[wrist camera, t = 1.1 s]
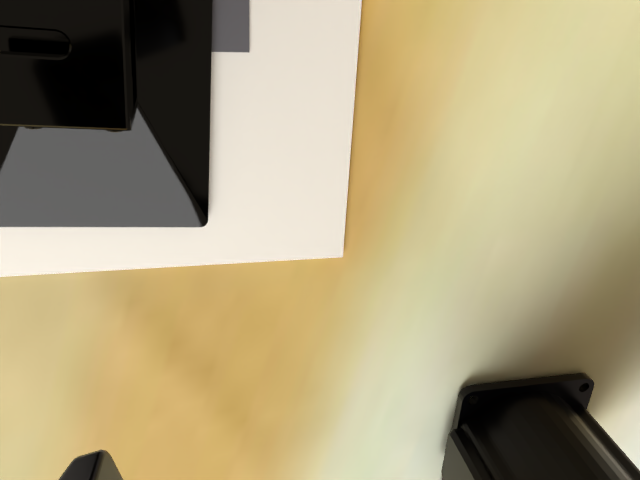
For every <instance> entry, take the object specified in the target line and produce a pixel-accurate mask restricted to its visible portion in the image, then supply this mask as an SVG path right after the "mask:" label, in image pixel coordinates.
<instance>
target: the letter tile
mask: <svg viewBox="0 0 640 480" xmlns="http://www.w3.org/2000/svg"><path fill="white" fill-rule="evenodd" d="M361 5H362V0H213V3H212V53H211V103H210V153H209V203H208V223H207V224H206V225H205V226H204V227H0V277H4V276H22V275H39V274H57V273H74V272H92V271H109V270H126V269H144V268H161V267H179V266H196V265H214V264H231V263H249V262H266V261H283V260H301V259H318V258H336V257H343V247H344V234H345V220H346V207H347V193H348V180H349V166H350V153H351V140H352V126H353V113H354V99H355V86H356V72H357V59H358V45H359V32H360V18H361Z"/></svg>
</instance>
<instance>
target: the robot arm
mask: <svg viewBox="0 0 640 480" xmlns="http://www.w3.org/2000/svg"><path fill="white" fill-rule="evenodd" d="M593 387H594V382H593V380H592V379H591V378H590V377H589V376H588V375H587V374H585V373H579V374H570V375H561V376H551V377H542V378H533V379H524V380H515V381H506V382H496V383H487V384H478V385H470V386H466V387H465V388H463V389H462V390H461V391H460V393H459V395H458V400H457V405H456V410H455V416H454V421H453V426H452V429H451V431H450V433H449V435H448V440H447V445H446V450H445V456H444V461H443V466H442V475H443V478H442V480H640V470H639V469H638V468H637V467H636V466H635V465H634V464H633V462H632V461H631V460H630V459H629V458H628V457H627V456H626V454H625V453H624V452H623V451H622V450H621V449H620V448H619V446H618V445H617V444H616V443H615V442H614V441H613V440H612V438H611V437H610V436H609V435H608V434H607V433H606V432H605V430H604V429H603V428H602V427H601V426H600V425H599V424H598V422H597V421H596V420H595V419H594V418H593V417H592V416H591V414H590V413H589V412H588V411H587V410H586V409H587V406H588V403H589V400H590V397H591V394H592V391H593ZM471 396H473V397H471ZM470 397H471V398H470ZM59 480H123V478H122V476H121V475H120V473H119V471H118V469H117V467H116V465H115V463H114V461H113V459H112V457H111V455H110V454H109V453H108V452H107V451H105V450H98V451H95V452H92V453H88V454H85V455H82V456H79V457H77V458H75V459H74V460H73V461H72V462H71V463H70V465H69V466H68V467H67V469H66V470H65V472H64V473H63V474H62V476H61V477H60V478H59Z"/></svg>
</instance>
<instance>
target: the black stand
mask: <svg viewBox="0 0 640 480" xmlns="http://www.w3.org/2000/svg"><path fill="white" fill-rule="evenodd" d="M212 3H213V0H0V227H204V226H205V225H206V224H207V223H208V203H209V153H210V103H211V53H212Z"/></svg>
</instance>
